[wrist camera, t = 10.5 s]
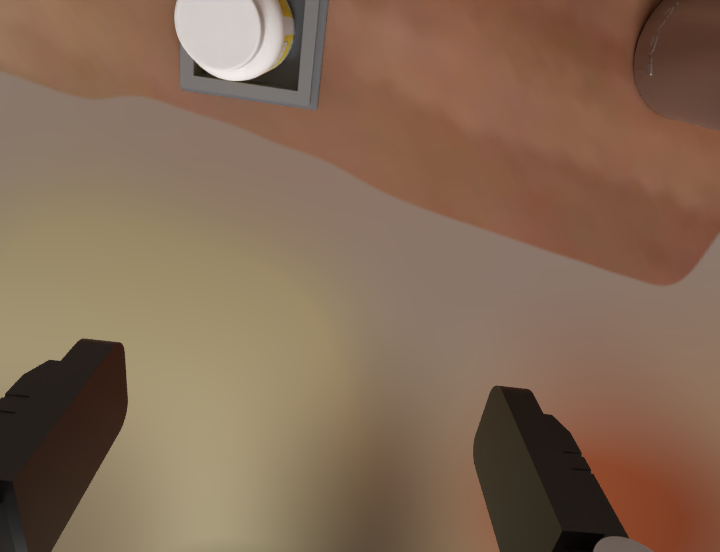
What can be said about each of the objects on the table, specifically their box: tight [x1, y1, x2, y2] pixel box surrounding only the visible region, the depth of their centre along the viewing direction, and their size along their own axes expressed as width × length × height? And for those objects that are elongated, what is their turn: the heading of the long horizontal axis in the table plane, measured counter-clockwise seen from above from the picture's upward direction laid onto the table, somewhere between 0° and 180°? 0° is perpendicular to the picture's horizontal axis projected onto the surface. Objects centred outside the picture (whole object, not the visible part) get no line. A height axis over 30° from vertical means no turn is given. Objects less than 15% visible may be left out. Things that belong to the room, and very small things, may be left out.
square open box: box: [180, 0, 328, 110], centre depth 31 cm, size 9×9×3 cm
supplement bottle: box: [174, 0, 296, 81], centre depth 27 cm, size 5×5×10 cm
